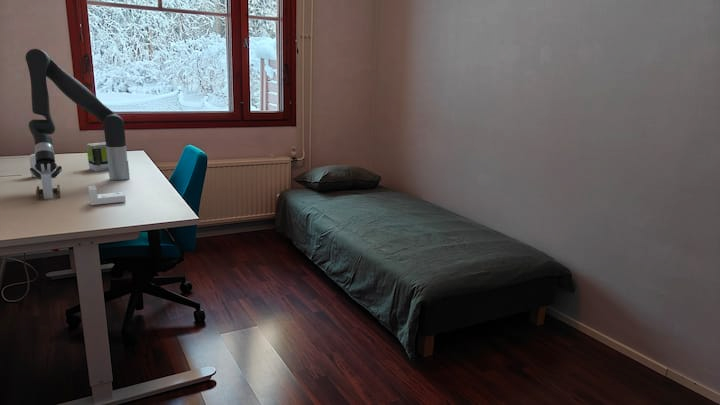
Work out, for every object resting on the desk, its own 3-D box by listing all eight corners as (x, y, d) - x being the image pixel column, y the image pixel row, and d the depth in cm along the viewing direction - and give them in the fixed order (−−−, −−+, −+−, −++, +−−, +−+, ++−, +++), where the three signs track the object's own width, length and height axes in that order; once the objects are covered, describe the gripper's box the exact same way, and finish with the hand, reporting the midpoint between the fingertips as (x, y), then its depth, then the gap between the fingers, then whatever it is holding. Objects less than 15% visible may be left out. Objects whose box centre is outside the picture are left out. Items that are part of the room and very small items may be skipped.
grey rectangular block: (53, 193, 220) (50, 169, 218) (53, 198, 212) (50, 173, 209) (44, 194, 219) (41, 170, 216) (44, 199, 210) (40, 174, 208)
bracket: (91, 207, 202) (89, 189, 200) (90, 203, 207) (88, 186, 205) (125, 203, 208) (124, 186, 206) (123, 199, 214) (121, 183, 212)
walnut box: (60, 192, 224) (59, 184, 223) (60, 198, 213) (59, 190, 212) (38, 194, 219) (37, 186, 218) (37, 201, 208) (36, 192, 207)
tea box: (116, 166, 287) (114, 141, 283) (122, 168, 280) (120, 143, 276) (88, 168, 276) (85, 143, 273) (94, 171, 269) (91, 145, 266)
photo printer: (54, 174, 259) (51, 151, 256) (55, 176, 256) (52, 152, 253) (31, 176, 254) (28, 153, 250) (31, 177, 250) (28, 154, 247)
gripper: (26, 150, 220) (29, 182, 213) (60, 148, 226) (64, 179, 219) (28, 160, 226) (31, 191, 219) (61, 158, 232) (65, 188, 225)
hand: (47, 185), depth 219 cm, fingers closed
